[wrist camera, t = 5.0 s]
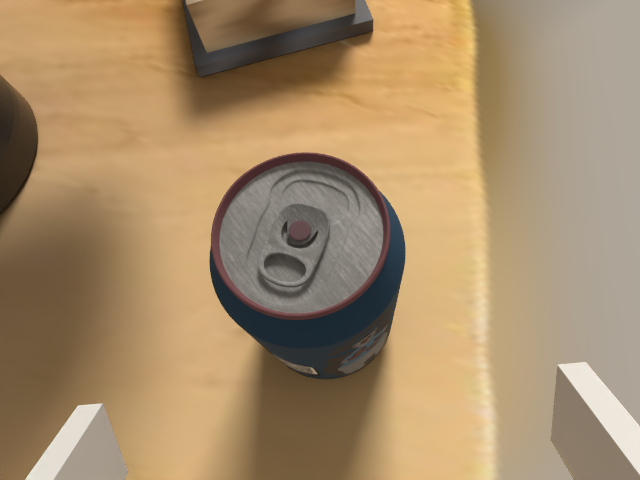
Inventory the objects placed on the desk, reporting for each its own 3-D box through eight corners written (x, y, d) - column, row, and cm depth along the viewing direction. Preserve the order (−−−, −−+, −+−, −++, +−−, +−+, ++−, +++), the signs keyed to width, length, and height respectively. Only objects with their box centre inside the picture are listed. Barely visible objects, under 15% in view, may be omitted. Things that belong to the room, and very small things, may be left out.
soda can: (294, 243, 27) (245, 115, 16) (406, 280, 26) (436, 166, 15) (246, 354, 25) (153, 293, 14) (367, 401, 24) (368, 374, 13)
